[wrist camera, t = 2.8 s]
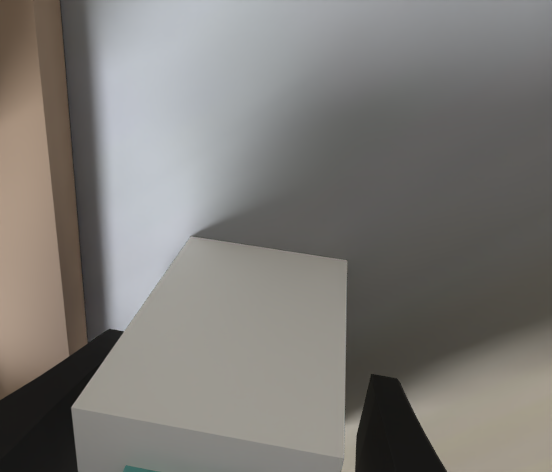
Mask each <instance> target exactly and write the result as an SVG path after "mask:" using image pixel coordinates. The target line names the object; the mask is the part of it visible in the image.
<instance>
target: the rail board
mask: <svg viewBox="0 0 552 472" xmlns="http://www.w3.org/2000/svg"><path fill="white" fill-rule="evenodd" d="M86 344H88V342H87V330H86V318H85V305H84V293H83V281H82V268H81V256H80V244H79V231H78V219H77V207H76V194H75V182H74V169H73V157H72V145H71V132H70V120H69V108H68V95H67V83H66V71H65V58H64V46H63V34H62V21H61V9H60V0H0V400H1V399H3V398H4V397H6V396H8V395H9V394H11V393H13V392H14V391H16V390H18V389H19V388H21V387H23V386H24V385H26V384H27V383H29V382H31V381H32V380H34V379H36V378H37V377H39V376H40V375H42V374H43V373H45V372H46V371H48V370H49V369H51V368H52V367H54V366H56V365H57V364H59V363H60V362H62V361H63V360H64V359H66V358H67V357H69V356H70V355H72V354H73V353H75V352H76V351H78V350H79V349H81V348H82V347H83V346H85V345H86Z"/></svg>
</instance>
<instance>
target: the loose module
mask: <svg viewBox="0 0 552 472" xmlns="http://www.w3.org/2000/svg"><path fill="white" fill-rule="evenodd" d="M346 308H347V260H342V259H336V258H329V257H323V256H316V255H310V254H303V253H297V252H290V251H284V250H277V249H271V248H264V247H258V246H251V245H245V244H238V243H232V242H225V241H219V240H212V239H206V238H199V237H193V236H191V237H190V238H189V239H188V241H187V242H186V244H185V245H184V247H183V248H182V249H181V251H180V252H179V254H178V255H177V257H176V258H175V259H174V261H173V262H172V264H171V265H170V267H169V268H168V269H167V271H166V272H165V274H164V275H163V277H162V278H161V279H160V281H159V282H158V284H157V285H156V287H155V288H154V289H153V291H152V292H151V294H150V295H149V297H148V298H147V300H146V301H145V302H144V304H143V305H142V307H141V308H140V310H139V311H138V312H137V314H136V315H135V317H134V318H133V320H132V321H131V322H130V324H129V325H128V327H127V328H126V330H125V331H124V332H123V334H122V335H121V337H120V338H119V340H118V341H117V342H116V344H115V345H114V347H113V348H112V350H111V351H110V352H109V354H108V355H107V357H106V358H105V360H104V361H103V363H102V364H101V365H100V367H99V368H98V370H97V371H96V373H95V374H94V375H93V377H92V378H91V380H90V381H89V383H88V384H87V385H86V387H85V388H84V390H83V391H82V393H81V394H80V395H79V397H78V398H77V400H76V401H75V403H74V404H73V405H72V407H71V411H72V420H73V429H74V439H75V448H76V457H77V466H78V472H341V470H342V466H343V461H344V436H345V372H346Z"/></svg>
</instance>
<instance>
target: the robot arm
mask: <svg viewBox="0 0 552 472" xmlns="http://www.w3.org/2000/svg"><path fill="white" fill-rule="evenodd" d="M123 332H124V331H118V330H112V329H109V330H107V331H105V332H104V333H102V334H101V335H99V336H98V337H97V338H95V339H94V340H92V341H91V342H89V343H88V344H86V345H85V346H83V347H82V348H81V349H79V350H78V351H76V352H75V353H73V354H72V355H70V356H69V357H67V358H66V359H64V360H63V361H62V362H60V363H59V364H57V365H56V366H54V367H52V368H51V369H49V370H48V371H46V372H45V373H43V374H42V375H40V376H39V377H37V378H36V379H34V380H32V381H31V382H29V383H27V384H26V385H24V386H23V387H21V388H19V389H18V390H16V391H14V392H13V393H11V394H9V395H8V396H6V397H4V398H3V399H1V400H0V472H78V466H77V457H76V448H75V439H74V429H73V420H72V411H71V407H72V405H73V404H74V403H75V401H76V400H77V398H78V397H79V395H80V394H81V393H82V391H83V390H84V388H85V387H86V385H87V384H88V383H89V381H90V380H91V378H92V377H93V375H94V374H95V373H96V371H97V370H98V368H99V367H100V365H101V364H102V363H103V361H104V360H105V358H106V357H107V355H108V354H109V352H110V351H111V350H112V348H113V347H114V345H115V344H116V342H117V341H118V340H119V338H120V337H121V335H122V334H123ZM355 472H447V471H446V469H445V467H444V466H443V464H442V462H441V461H440V459H439V457H438V456H437V454H436V452H435V450H434V449H433V447H432V445H431V443H430V442H429V440H428V438H427V436H426V434H425V433H424V431H423V429H422V427H421V425H420V423H419V421H418V419H417V417H416V415H415V413H414V411H413V409H412V407H411V405H410V403H409V401H408V399H407V397H406V395H405V392H404V390H403V388H402V386H401V383H400V382H399V381H398V379H397V378H391V377H385V376H379V375H374V374H371V378H370V382H369V386H368V390H367V395H366V399H365V403H364V407H363V411H362V415H361V420H360V424H359V428H358V432H357V439H356V465H355Z"/></svg>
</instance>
